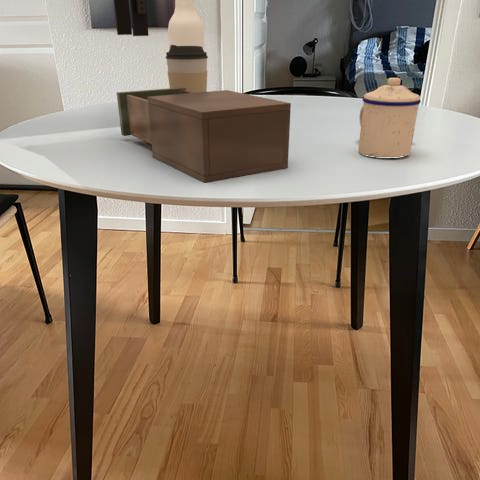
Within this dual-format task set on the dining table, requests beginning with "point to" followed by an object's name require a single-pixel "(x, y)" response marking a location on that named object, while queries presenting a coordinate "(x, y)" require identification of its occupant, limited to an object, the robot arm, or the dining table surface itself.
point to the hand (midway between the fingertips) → (132, 35)
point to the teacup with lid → (388, 120)
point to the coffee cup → (187, 68)
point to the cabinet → (219, 133)
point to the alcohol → (185, 25)
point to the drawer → (139, 111)
